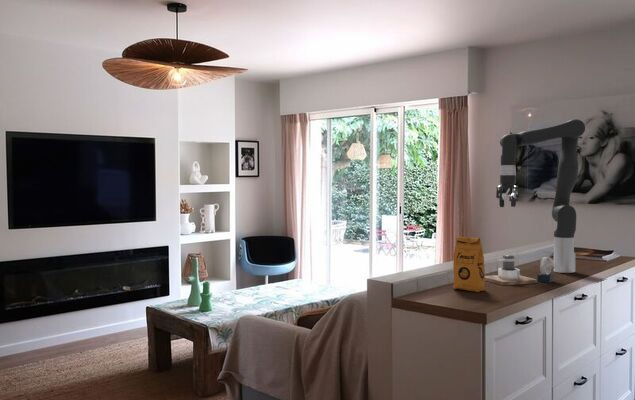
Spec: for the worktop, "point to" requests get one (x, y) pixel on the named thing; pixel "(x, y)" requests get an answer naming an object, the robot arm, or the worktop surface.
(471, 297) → the worktop surface
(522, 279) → the mount board
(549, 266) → the watch
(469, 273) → the coffee package
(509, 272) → the notched white ring
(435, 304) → the worktop surface
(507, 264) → the grey cylinder
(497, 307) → the worktop surface
